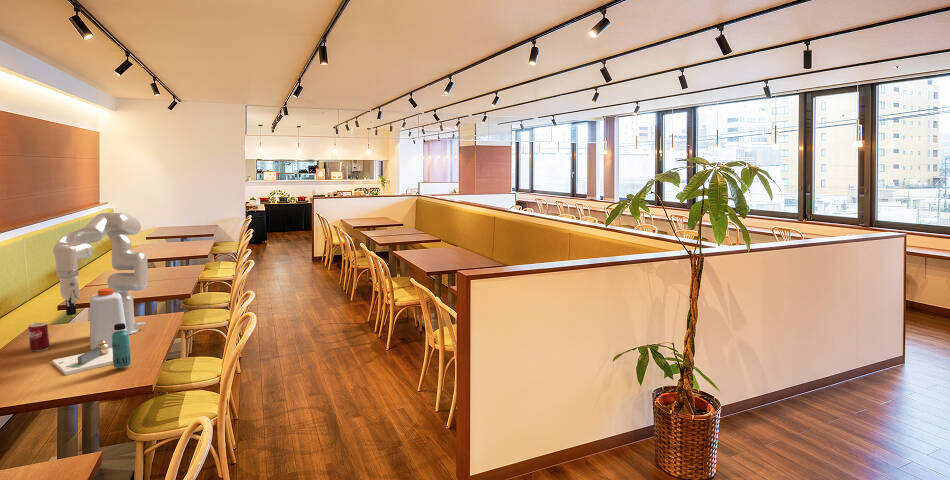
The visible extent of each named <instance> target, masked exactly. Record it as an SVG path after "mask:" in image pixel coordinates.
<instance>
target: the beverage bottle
mask: <svg viewBox="0 0 950 480" xmlns="http://www.w3.org/2000/svg"><path fill="white" fill-rule="evenodd" d="M125 328H126V327H125V324H124V323H119V324H115V325H114V330H121V331H116V332H114V333H113V334H112V349H113V364H112V365H113V368H115V369H122V368H128V367H129V366H131V361H132V360H131V358H132V357H131V348H130V346H131V345H130V334H129V333H128V332H127V331H124V330H123V329H125Z"/></svg>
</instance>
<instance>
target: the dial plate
mask: <svg viewBox="0 0 950 480" xmlns="http://www.w3.org/2000/svg"><path fill="white" fill-rule="evenodd" d="M85 353H86V352H84V353H80V354H79V353H78V354H75V355H69V356H66V357H60V358H55V359H52V360H51V361H52V362H51V363H52V364H53V365H54V366H55V367H56V368H57V369H58V370H59V371H60V372H62V373H63V375H65V376H68V375H73V374H76V373H82V372H87V371H89V370H90V371H91V370H93V369H98V368H103V367H107V366H111V364H112V365H114V364H113V349H112V347H111V348H108V353H106V354H101V355H99V356H97V357H95V358H93V359H91V360H89V361H87V362H85V363H83V364H78V357H79V356H81V355H83V354H85Z"/></svg>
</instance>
